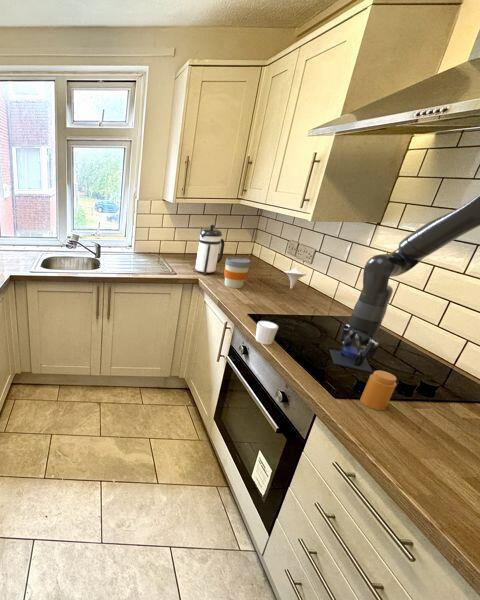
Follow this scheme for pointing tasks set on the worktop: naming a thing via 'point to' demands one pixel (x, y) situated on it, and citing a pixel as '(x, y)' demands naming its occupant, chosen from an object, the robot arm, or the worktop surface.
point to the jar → (378, 390)
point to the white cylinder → (266, 332)
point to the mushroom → (294, 276)
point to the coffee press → (209, 250)
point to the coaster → (348, 362)
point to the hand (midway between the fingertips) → (350, 359)
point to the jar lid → (350, 351)
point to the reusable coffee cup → (236, 271)
